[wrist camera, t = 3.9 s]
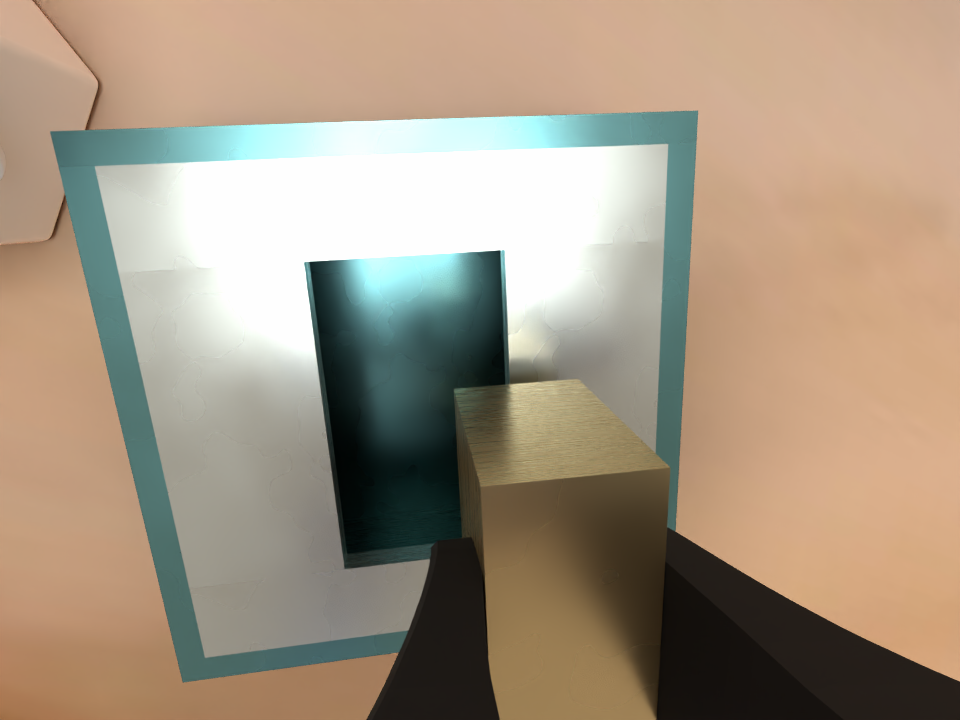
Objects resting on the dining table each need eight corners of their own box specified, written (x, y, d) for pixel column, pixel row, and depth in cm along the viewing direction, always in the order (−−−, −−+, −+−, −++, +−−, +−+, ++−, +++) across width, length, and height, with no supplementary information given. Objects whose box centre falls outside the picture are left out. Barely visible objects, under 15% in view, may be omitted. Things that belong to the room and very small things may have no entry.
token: (576, 591, 12) (653, 761, 8) (465, 605, 12) (494, 788, 8) (577, 378, 11) (670, 467, 7) (453, 388, 11) (480, 486, 7)
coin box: (594, 497, 20) (671, 614, 14) (251, 536, 19) (182, 682, 13) (597, 145, 17) (697, 110, 11) (183, 161, 15) (49, 130, 10)
